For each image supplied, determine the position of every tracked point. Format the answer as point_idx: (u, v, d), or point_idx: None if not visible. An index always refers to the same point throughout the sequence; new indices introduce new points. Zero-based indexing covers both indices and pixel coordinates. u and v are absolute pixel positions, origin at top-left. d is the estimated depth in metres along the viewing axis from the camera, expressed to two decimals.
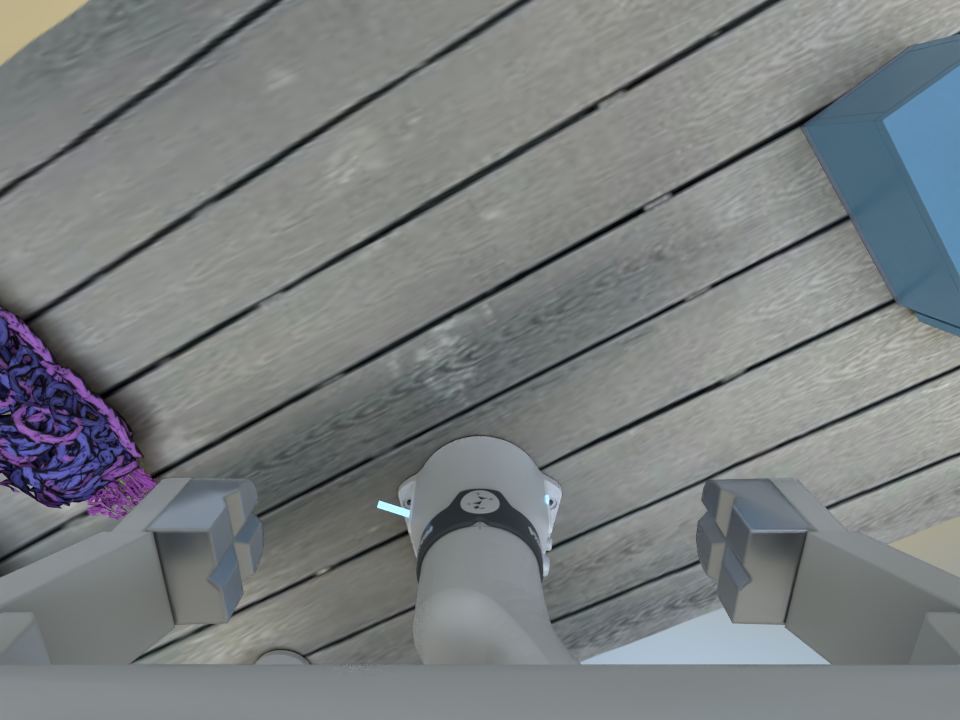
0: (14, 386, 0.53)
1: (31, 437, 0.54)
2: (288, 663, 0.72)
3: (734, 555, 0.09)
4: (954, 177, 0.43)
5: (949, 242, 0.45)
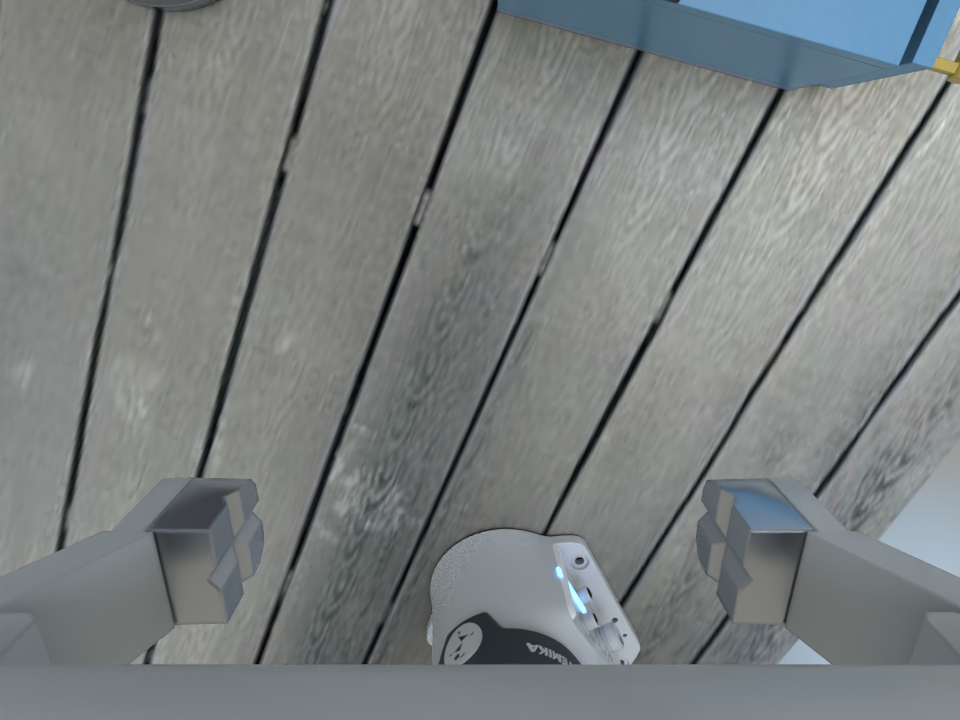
0: None
1: None
2: None
3: (734, 555, 0.09)
4: None
5: (726, 7, 0.29)
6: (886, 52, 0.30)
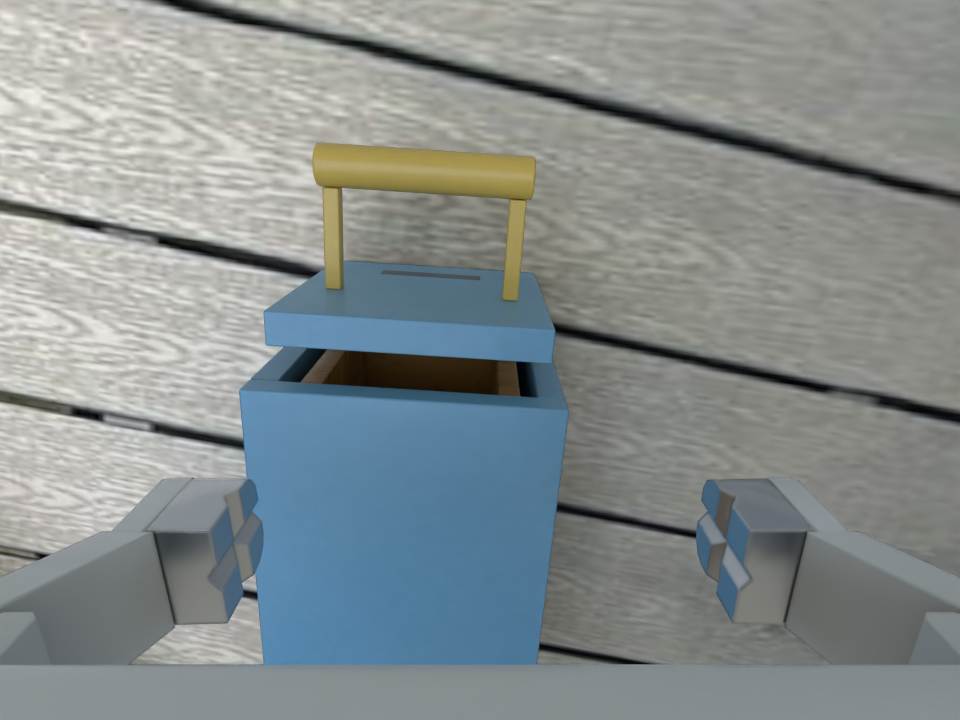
0: None
1: None
2: None
3: (734, 555, 0.09)
4: None
5: (528, 641, 0.22)
6: (553, 436, 0.19)
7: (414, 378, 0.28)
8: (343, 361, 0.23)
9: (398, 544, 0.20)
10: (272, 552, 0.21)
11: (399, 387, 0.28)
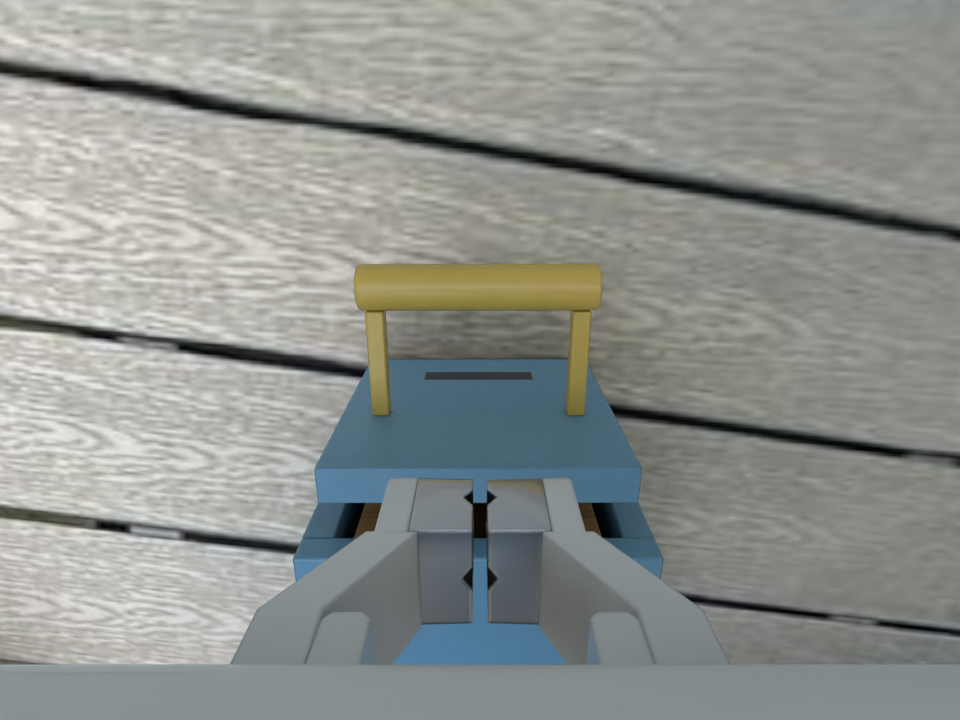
0: None
1: None
2: None
3: None
4: None
5: None
6: None
7: None
8: None
9: None
10: None
11: None
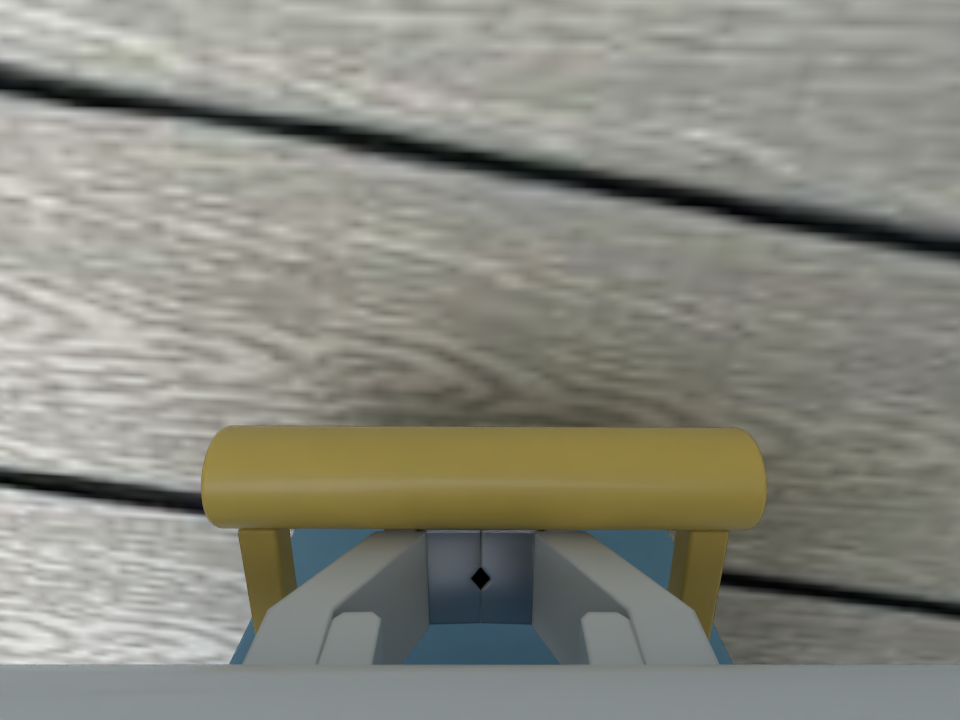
0: None
1: None
2: None
3: None
4: None
5: None
6: None
7: None
8: None
9: None
10: None
11: None
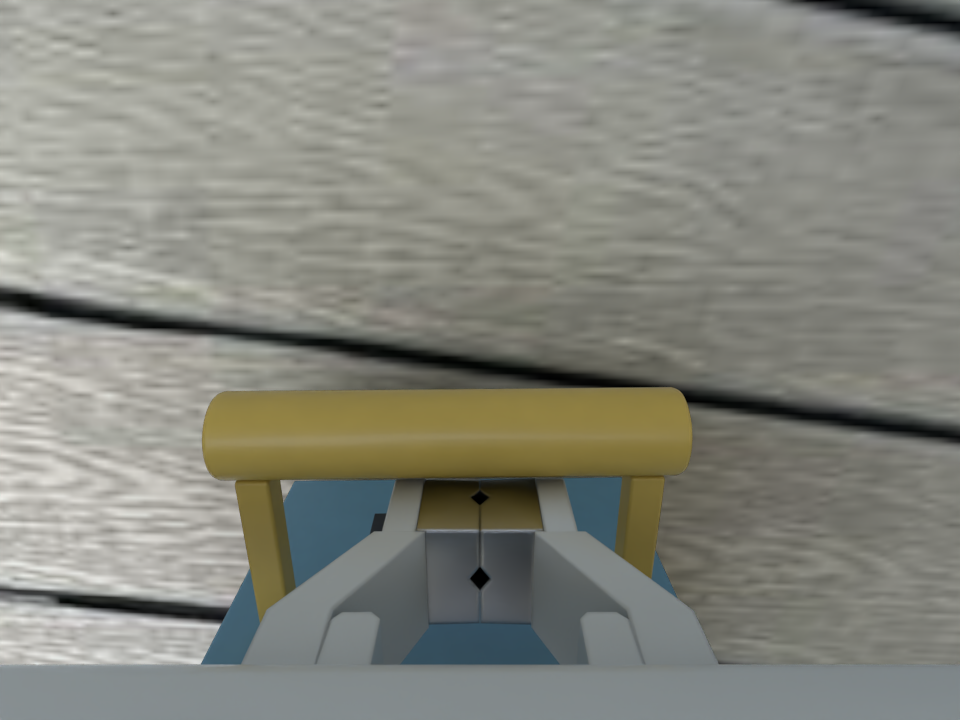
0: None
1: None
2: None
3: None
4: None
5: None
6: None
7: None
8: None
9: None
10: None
11: None
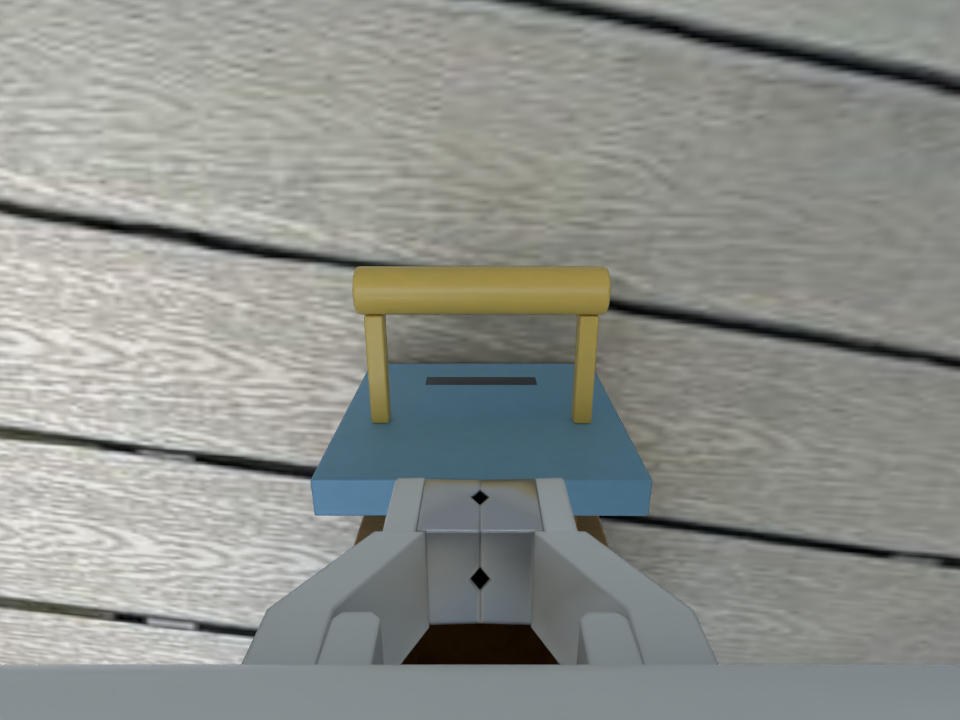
0: None
1: None
2: None
3: None
4: None
5: None
6: None
7: None
8: None
9: None
10: None
11: None
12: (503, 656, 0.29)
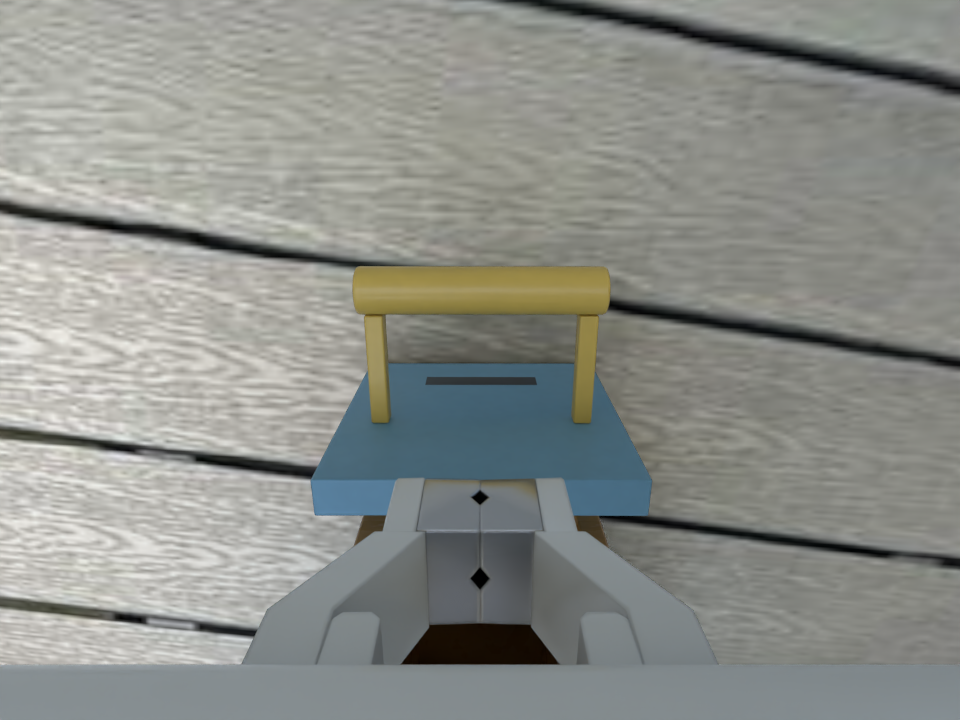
0: None
1: None
2: None
3: None
4: None
5: None
6: None
7: None
8: None
9: None
10: None
11: None
12: (503, 656, 0.29)
